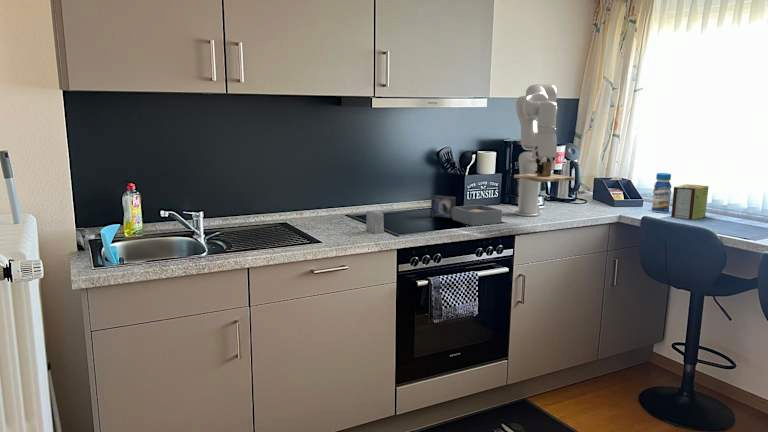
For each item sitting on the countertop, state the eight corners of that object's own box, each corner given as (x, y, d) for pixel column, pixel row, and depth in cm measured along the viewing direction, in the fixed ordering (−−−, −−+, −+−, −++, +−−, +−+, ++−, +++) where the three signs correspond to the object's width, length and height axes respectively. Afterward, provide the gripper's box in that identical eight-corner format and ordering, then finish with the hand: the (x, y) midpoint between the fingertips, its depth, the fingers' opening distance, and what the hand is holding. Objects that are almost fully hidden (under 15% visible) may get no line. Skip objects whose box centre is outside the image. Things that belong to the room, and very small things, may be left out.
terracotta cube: (475, 219, 272) (476, 209, 271) (484, 221, 269) (484, 210, 268) (468, 220, 269) (469, 210, 268) (477, 222, 265) (477, 211, 264)
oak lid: (545, 175, 266) (546, 160, 264) (574, 180, 250) (575, 163, 249) (514, 177, 258) (514, 161, 256) (541, 182, 242) (542, 165, 241)
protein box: (705, 216, 289) (709, 186, 287) (692, 220, 280) (695, 188, 277) (684, 213, 297) (687, 183, 294) (670, 217, 288) (673, 186, 285)
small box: (430, 218, 281) (430, 196, 279) (435, 215, 287) (435, 194, 285) (450, 220, 276) (451, 198, 275) (455, 217, 282) (456, 196, 280)
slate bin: (480, 218, 280) (480, 204, 278) (501, 224, 265) (501, 209, 264) (452, 221, 272) (452, 206, 271) (472, 227, 258) (472, 212, 257)
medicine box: (383, 233, 247) (384, 213, 245) (374, 234, 245) (374, 213, 243) (375, 229, 254) (375, 210, 252) (366, 230, 251) (366, 211, 250)
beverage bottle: (671, 211, 303) (675, 173, 299) (665, 213, 297) (669, 174, 293) (654, 209, 308) (658, 172, 305) (648, 211, 303) (652, 173, 299)
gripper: (554, 130, 257) (552, 171, 260) (525, 130, 250) (523, 173, 253) (567, 131, 250) (564, 173, 254) (537, 131, 243) (534, 174, 246)
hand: (543, 172), depth 253 cm, fingers closed on oak lid, 4 cm apart
